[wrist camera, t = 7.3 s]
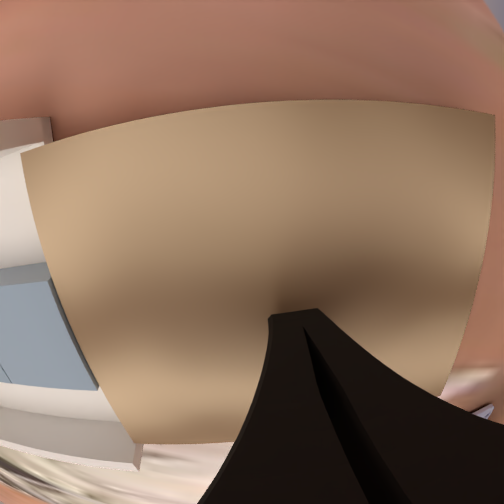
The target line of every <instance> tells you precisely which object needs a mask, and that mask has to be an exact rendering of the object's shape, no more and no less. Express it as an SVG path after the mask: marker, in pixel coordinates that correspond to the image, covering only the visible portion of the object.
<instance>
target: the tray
mask: <svg viewBox="0 0 504 504" xmlns="http://www.w3.org/2000/svg"><path fill="white" fill-rule="evenodd" d="M52 142H53V137H52V130H51V122H50V117H36V118H21V119H9V120H0V269H2V268H9V267H15V266H22V265H29V264H36V263H42V262H46V259H45V256H44V253H43V250H42V246H41V243H40V240H39V236H38V233H37V229H36V225H35V222H34V218H33V214H32V210H31V206H30V201H29V197H28V192H27V188H26V183H25V178H24V173H23V167H22V161H21V155H20V153H23V152H25V151H28V150H31V149H34V148H37V147H40V146H43V145H46V144H49V143H52ZM0 445H1V446H4V447H7V448H10V449H14V450H17V451H21V452H24V453H28V454H32V455H36V456H40V457H44V458H49V459H53V460H58V461H63V462H68V463H73V464H79V465H85V466H92V467H99V468H107V469H115V470H125V471H137V472H139V469H140V463H141V457H142V451H143V445H144V444H138V443H134V442H133V441H132V439H131V438H130V436H129V435H128V433H127V431H126V430H125V428H124V427H123V425H122V424H121V422H120V420H119V419H118V417H117V415H116V414H115V412H114V410H113V409H112V407H111V405H110V404H109V402H108V400H107V398H106V397H105V395H104V393H103V391H102V389H101V387H100V386H99V388H98V391H88V390H70V389H57V388H46V387H36V386H27V385H19V384H10V383H3V382H0Z"/></svg>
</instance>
